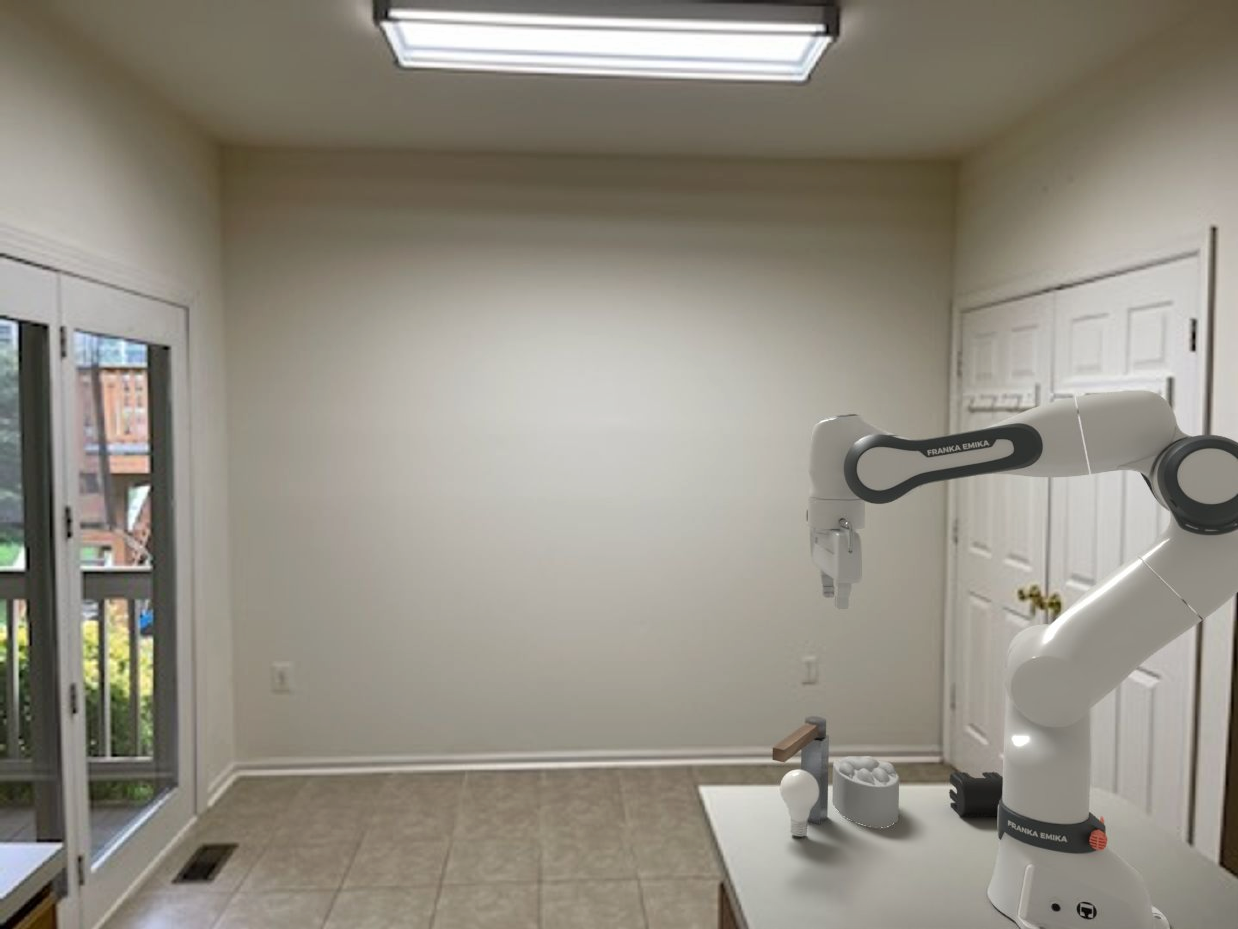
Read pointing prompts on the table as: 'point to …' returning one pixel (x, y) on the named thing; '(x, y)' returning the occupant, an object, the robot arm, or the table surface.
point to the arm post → (817, 774)
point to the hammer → (800, 738)
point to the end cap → (976, 794)
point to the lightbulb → (799, 798)
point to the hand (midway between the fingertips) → (834, 602)
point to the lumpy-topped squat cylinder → (866, 790)
